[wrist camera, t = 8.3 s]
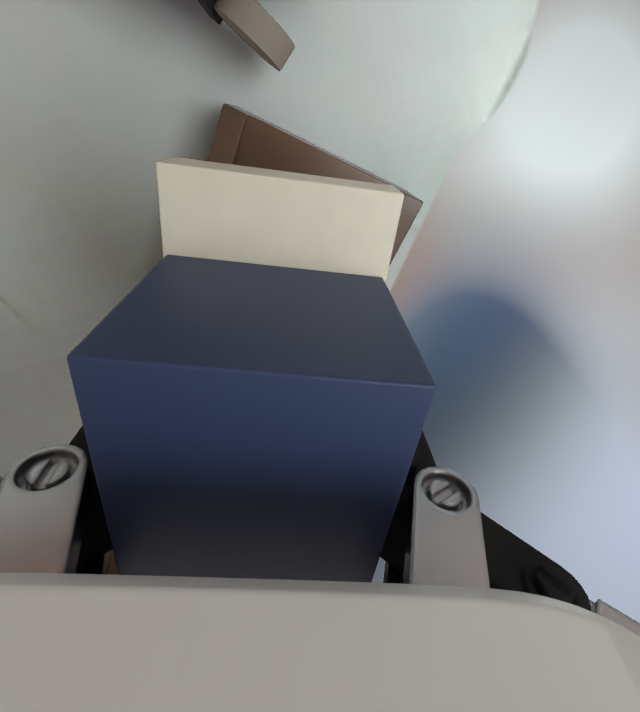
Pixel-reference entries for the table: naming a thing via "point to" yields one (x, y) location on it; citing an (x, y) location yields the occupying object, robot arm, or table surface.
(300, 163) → the brown wooden tray
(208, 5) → the figurine character
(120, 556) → the blue milk carton
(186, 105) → the table surface
